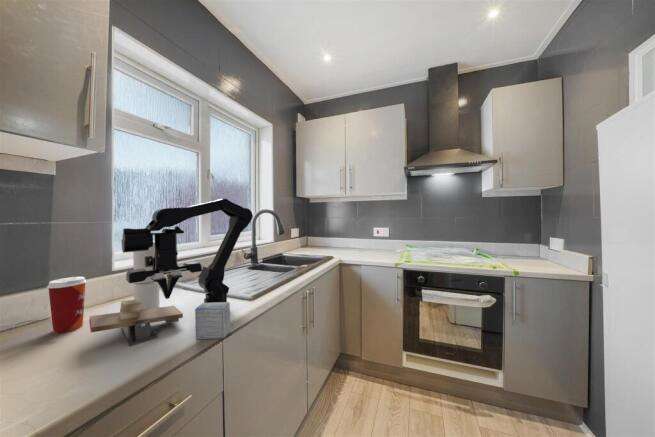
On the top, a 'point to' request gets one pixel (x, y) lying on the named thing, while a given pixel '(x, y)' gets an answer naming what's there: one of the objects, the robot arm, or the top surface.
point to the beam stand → (139, 333)
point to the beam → (152, 315)
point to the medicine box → (212, 320)
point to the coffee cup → (67, 303)
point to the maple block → (130, 309)
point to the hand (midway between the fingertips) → (167, 298)
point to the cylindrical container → (145, 281)
